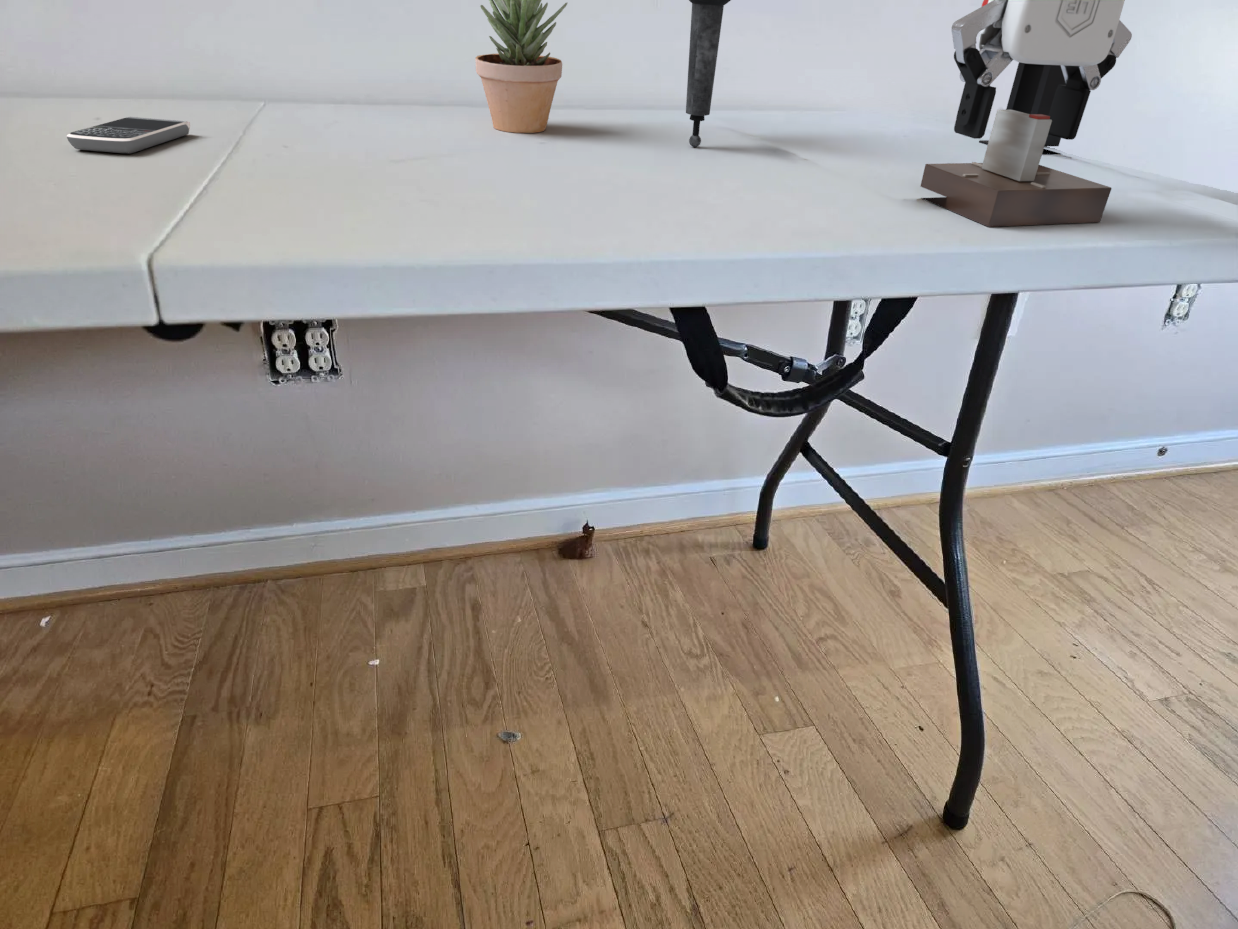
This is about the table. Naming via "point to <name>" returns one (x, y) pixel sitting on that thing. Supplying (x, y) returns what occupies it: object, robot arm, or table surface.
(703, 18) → the dark grey tapered rod
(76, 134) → the cell phone
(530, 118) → the potted plant
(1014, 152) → the grey block
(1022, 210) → the brown flat block
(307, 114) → the table surface
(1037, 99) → the bracket
